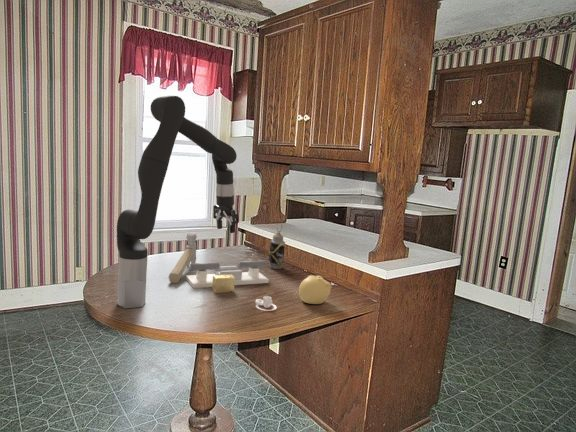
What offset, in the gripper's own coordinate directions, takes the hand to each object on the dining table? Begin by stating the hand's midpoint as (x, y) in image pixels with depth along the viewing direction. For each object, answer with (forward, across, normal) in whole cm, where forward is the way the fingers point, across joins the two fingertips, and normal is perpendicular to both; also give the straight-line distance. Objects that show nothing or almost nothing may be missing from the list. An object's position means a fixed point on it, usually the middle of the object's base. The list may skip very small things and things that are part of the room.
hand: (226, 230), depth 178 cm
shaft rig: (+22, +3, -2) cm, 22 cm away
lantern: (+27, -2, +32) cm, 42 cm away
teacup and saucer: (+22, +32, -6) cm, 39 cm away
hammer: (+21, -16, -12) cm, 29 cm away
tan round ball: (+24, +40, +11) cm, 48 cm away
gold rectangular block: (+21, +11, -11) cm, 26 cm away
